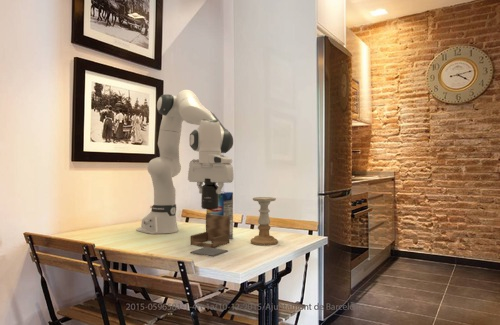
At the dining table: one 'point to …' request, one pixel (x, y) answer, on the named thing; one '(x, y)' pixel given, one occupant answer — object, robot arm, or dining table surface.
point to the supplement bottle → (209, 195)
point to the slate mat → (209, 251)
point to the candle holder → (264, 223)
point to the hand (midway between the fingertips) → (210, 193)
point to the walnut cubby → (213, 232)
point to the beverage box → (224, 208)
